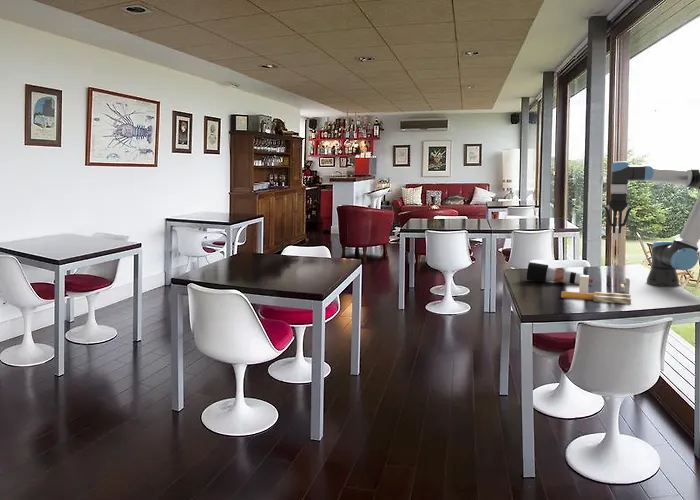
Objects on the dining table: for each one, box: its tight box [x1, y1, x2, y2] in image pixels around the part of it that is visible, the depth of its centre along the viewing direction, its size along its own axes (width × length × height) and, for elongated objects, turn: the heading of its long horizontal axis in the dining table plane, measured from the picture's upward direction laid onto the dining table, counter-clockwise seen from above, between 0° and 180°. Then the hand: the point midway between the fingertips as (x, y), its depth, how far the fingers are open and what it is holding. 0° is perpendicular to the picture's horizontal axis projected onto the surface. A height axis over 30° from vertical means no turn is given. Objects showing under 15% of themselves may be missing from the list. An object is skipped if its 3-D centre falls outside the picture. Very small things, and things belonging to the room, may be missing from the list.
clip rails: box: [593, 291, 632, 305], centre depth 276 cm, size 16×10×2 cm, turn 66°
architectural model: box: [620, 277, 631, 294], centre depth 292 cm, size 3×7×7 cm, turn 161°
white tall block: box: [578, 274, 590, 293], centre depth 291 cm, size 4×4×9 cm
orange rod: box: [560, 290, 597, 301], centre depth 281 cm, size 16×3×3 cm
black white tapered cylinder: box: [526, 261, 594, 286], centre depth 316 cm, size 10×34×10 cm
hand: (616, 239), depth 292 cm, fingers closed
